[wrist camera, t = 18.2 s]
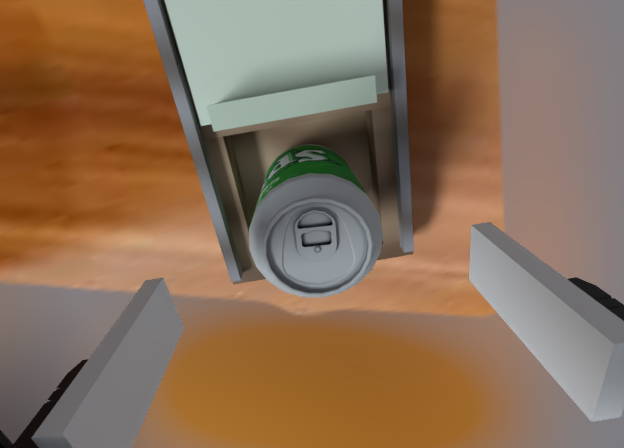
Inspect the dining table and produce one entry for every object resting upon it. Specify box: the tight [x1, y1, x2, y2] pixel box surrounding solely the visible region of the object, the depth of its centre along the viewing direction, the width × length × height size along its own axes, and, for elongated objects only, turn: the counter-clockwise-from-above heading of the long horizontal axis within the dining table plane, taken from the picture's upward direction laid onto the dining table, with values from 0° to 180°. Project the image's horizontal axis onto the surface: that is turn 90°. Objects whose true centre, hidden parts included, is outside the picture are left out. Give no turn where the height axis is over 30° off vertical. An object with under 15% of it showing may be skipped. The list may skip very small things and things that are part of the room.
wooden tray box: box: [143, 0, 414, 284], centre depth 25 cm, size 23×16×4 cm
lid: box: [165, 0, 388, 132], centre depth 19 cm, size 12×13×4 cm
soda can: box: [249, 144, 383, 297], centre depth 23 cm, size 8×8×12 cm
